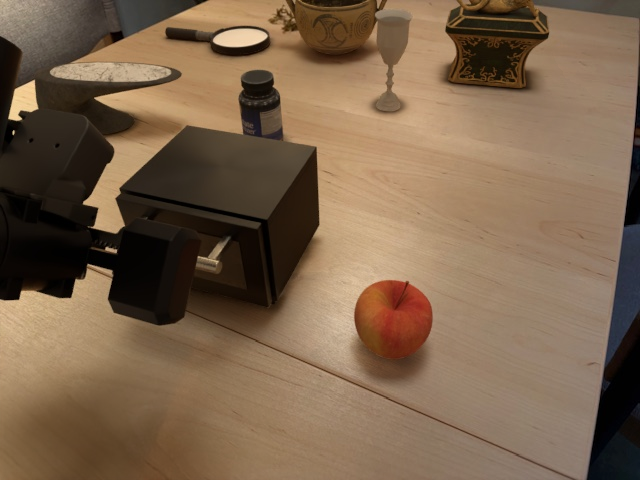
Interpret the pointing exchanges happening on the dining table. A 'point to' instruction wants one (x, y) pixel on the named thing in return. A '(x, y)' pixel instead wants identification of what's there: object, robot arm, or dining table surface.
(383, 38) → the chalice
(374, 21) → the ceramic bowl
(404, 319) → the apple
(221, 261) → the oven door
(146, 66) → the coffee table
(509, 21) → the decorative box
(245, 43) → the magnifying glass
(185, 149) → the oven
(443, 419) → the dining table surface
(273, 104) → the pill bottle
